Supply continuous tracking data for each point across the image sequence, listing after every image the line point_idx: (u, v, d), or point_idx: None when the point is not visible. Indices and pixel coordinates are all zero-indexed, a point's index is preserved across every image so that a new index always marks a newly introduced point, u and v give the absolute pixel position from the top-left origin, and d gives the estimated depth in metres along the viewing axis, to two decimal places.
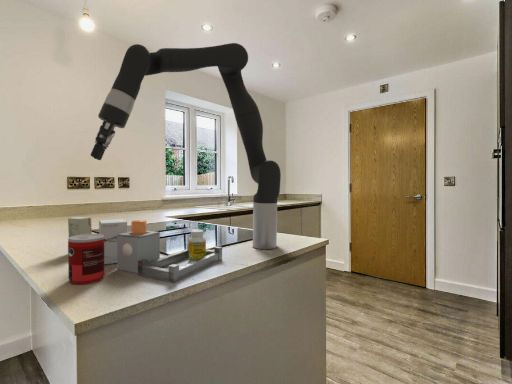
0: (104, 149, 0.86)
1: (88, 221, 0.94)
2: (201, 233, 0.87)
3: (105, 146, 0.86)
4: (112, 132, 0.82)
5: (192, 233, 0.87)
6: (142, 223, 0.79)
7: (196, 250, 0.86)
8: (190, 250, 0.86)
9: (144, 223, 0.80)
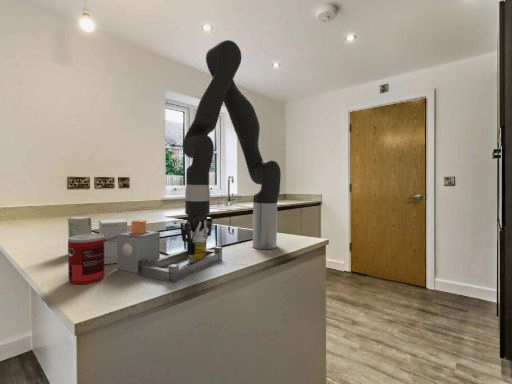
0: None
1: (88, 221, 0.94)
2: (201, 233, 0.87)
3: (204, 236, 0.90)
4: (197, 224, 0.86)
5: None
6: (142, 223, 0.79)
7: (196, 250, 0.86)
8: None
9: (144, 223, 0.80)
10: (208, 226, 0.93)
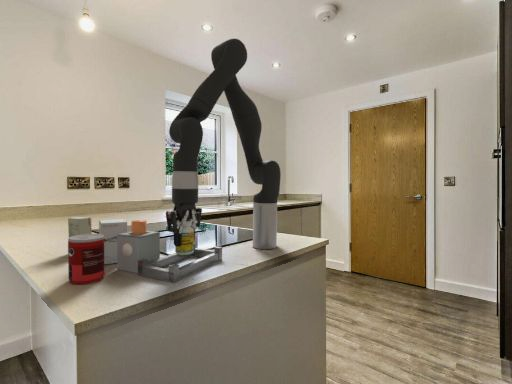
0: None
1: (88, 221, 0.94)
2: (189, 223, 0.82)
3: (192, 226, 0.85)
4: (184, 214, 0.80)
5: None
6: (142, 223, 0.79)
7: (183, 241, 0.80)
8: None
9: (144, 223, 0.80)
10: (197, 216, 0.87)
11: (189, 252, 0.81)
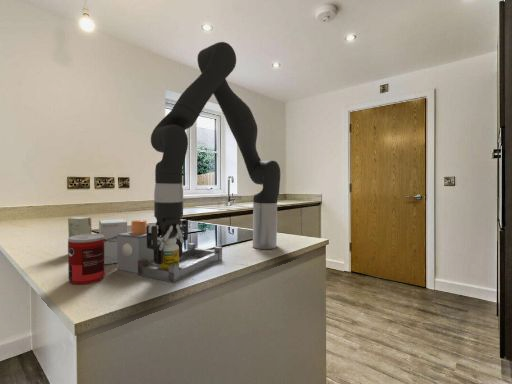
0: (179, 244, 0.79)
1: (88, 221, 0.94)
2: (173, 240, 0.75)
3: (179, 240, 0.79)
4: (167, 229, 0.74)
5: None
6: (142, 223, 0.79)
7: (166, 260, 0.74)
8: None
9: (144, 223, 0.80)
10: (184, 229, 0.81)
11: None
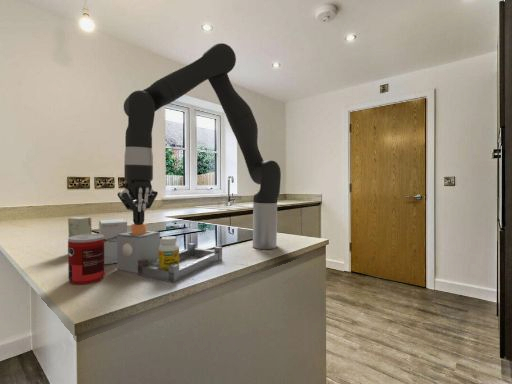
0: (141, 211, 0.80)
1: (88, 221, 0.94)
2: (173, 240, 0.75)
3: (141, 206, 0.80)
4: (137, 192, 0.78)
5: (162, 240, 0.75)
6: (142, 226, 0.79)
7: (166, 260, 0.74)
8: (160, 260, 0.75)
9: (144, 226, 0.80)
10: (150, 198, 0.83)
11: None
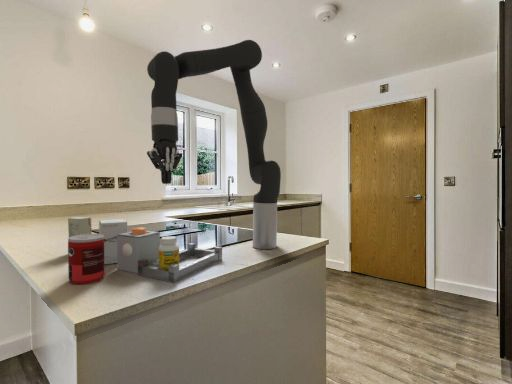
0: (168, 171, 0.83)
1: (88, 221, 0.94)
2: (173, 240, 0.75)
3: (168, 166, 0.83)
4: (165, 151, 0.81)
5: (162, 240, 0.75)
6: (142, 231, 0.80)
7: (166, 260, 0.74)
8: (160, 260, 0.75)
9: (144, 231, 0.80)
10: (176, 159, 0.86)
11: None
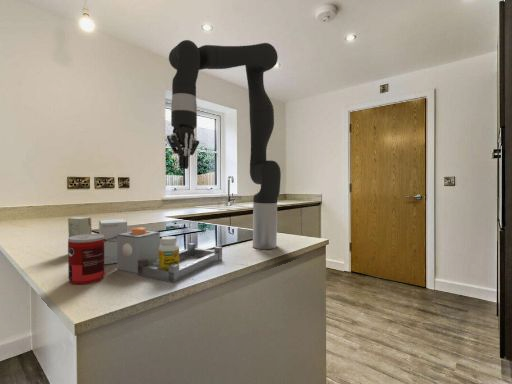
0: (186, 156, 0.85)
1: (88, 221, 0.94)
2: (173, 240, 0.75)
3: None
4: (184, 137, 0.83)
5: (162, 240, 0.75)
6: (142, 231, 0.80)
7: (166, 260, 0.74)
8: (160, 260, 0.75)
9: (144, 231, 0.80)
10: (193, 146, 0.89)
11: None
